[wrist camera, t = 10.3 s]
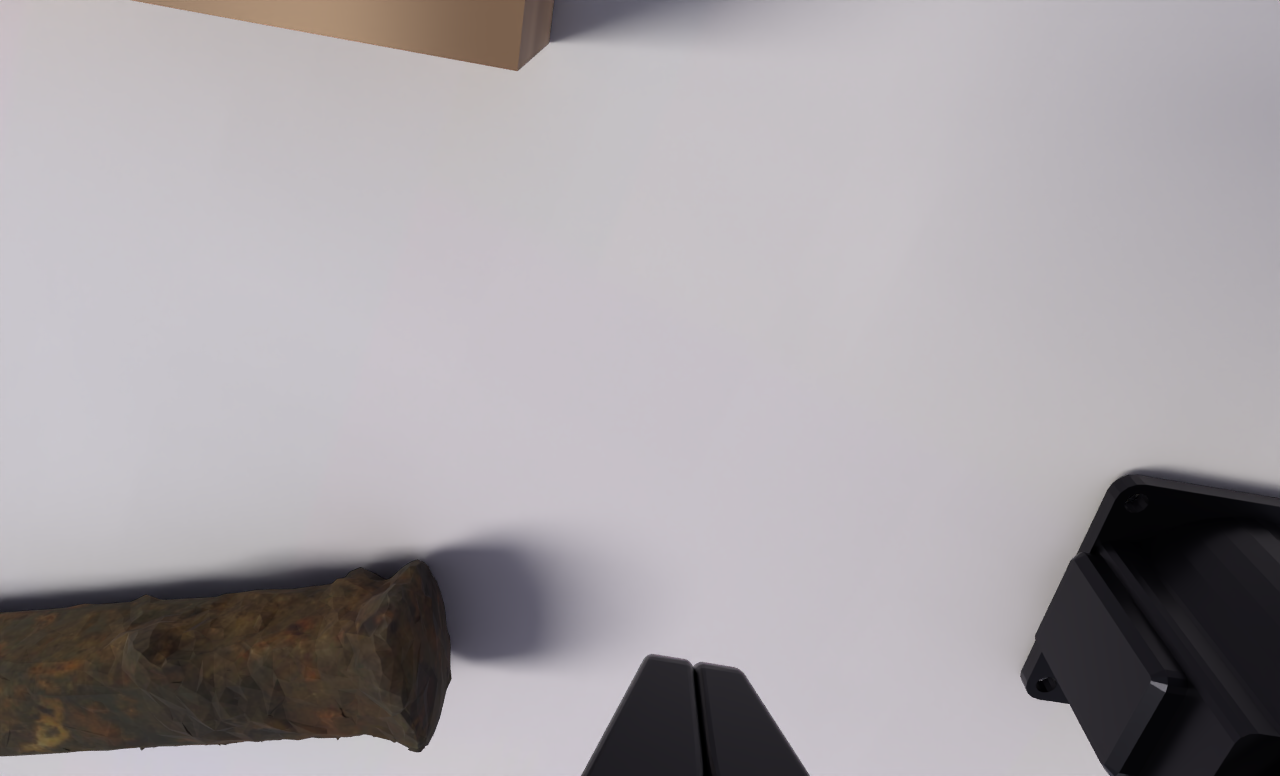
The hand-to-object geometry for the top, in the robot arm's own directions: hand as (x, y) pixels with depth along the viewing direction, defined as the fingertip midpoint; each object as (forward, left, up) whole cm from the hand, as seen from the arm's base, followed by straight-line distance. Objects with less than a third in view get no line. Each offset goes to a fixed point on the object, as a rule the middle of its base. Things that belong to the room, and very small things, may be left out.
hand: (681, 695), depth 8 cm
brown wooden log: (+13, +13, -12) cm, 22 cm away
